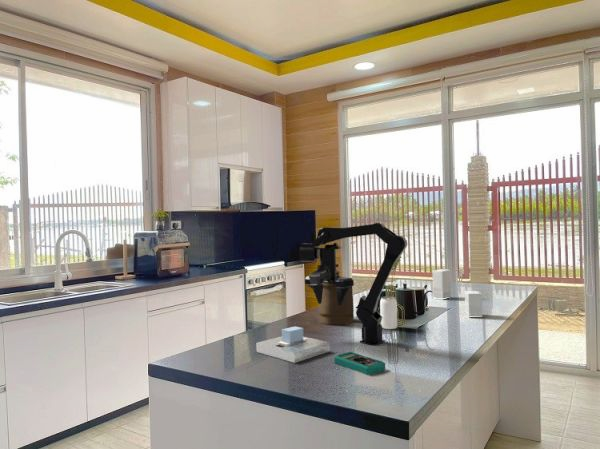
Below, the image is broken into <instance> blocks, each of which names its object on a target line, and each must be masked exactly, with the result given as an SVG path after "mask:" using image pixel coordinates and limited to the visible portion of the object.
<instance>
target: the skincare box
mask: <svg viewBox="0 0 600 449" xmlns="http://www.w3.org/2000/svg"><path fill="white" fill-rule="evenodd" d="M431 272H432V298H433V297H436V298H446V297H450V296H451V297H452V290H451V288H452V286H451V285H452V284H451V280H452V279H451V269H444V268H440V269H439V268H438V269H435V270H434V269H433V270H432V271H431Z"/></svg>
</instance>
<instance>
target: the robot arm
mask: <svg viewBox="0 0 600 449" xmlns="http://www.w3.org/2000/svg"><path fill="white" fill-rule="evenodd" d="M370 235H376V236H377V237H378V238H380V239H381V241H382V242H384V243H385V244H386V248H385V254H384V259H383V261H382V263H381V265H380V268H379V270H378V272H377V274H376V277H375V278H374V281H373V282H372V284H371V287H370V289H369V291H368V293H367V295H363V296H361V297H360V298H359V300H358V303H357V306H356V307H355V309H356V311H355V315H356V317H357V319H358V321H361V325H362V326H361V340H359V343H361V344H362V343H363V344H366V345H372V346H377V345H379V344H383V343H385V342H386V340H385V339H383V328H382V325H381V320H382V316H381V315H380V313H379V312H378V311H377V309H378V304H379V301H380V297H381V294H382V292H383V290H384V287H385V285H386V283H387V281H388V280H389V277H390V275H391V272H392V271H393V268H394V266H395V264H396V262H397V261H398V260H399V258H401V256H402V255H403V253H404V251H405V250H406V249H407V247H408V241H407V240H408V239H407V238H406V237H405V236H403V235H400V234H399V235H398V234H397V233H395V232H394V231H393V230H391V229H389V228H388V227H386V226H385V225H384V224H383V223H382V222H375V223H370V224H363V225H354V226H347V227H338V226H337V227H336V226H325V227H324V226H323V227H321V228H320V229H319V230H318V231H317V237H316V238H315V240H314V241H313V243H305V242H303V243H300V247H299V251H298V259H299V261H300V262H302V263H309V262H310V263H312V262H314V263H315V262H317V261H318V260H319V263H320V264H317V267H316V268H317V269H316V270H314V271H313V272H311V273H310V274H309V275H307V276H306V277H305V279H304V284H305V285H307V287H309V288H310V289H312V291H313V292H314V296H315V298H316V300H317V304H318V305H319V304H321V301H322V293H323V284H322V283H327V284H335V285H336V287H337V288H335V290H336V291H337V303H338V307H339V306H341V304H342V302H343V299H344V297H345V295H346V293H347V291H348V289H349V288H351V286H352V287H354V285H355V281H354V279H353V278H352V277H345V276H344V277H343V278H339V276H340V275H339V274H338V275H339V276H338V275H336V270H337V268H339V264H338V263H337V252H336V251H337V250H340V249H342V246H341V245H339V244H338V242H337V241H340V240H342V239H346V238H354V237H363V236H370ZM329 243H333V244H329ZM319 246H324V247H319ZM326 280H327V281H326ZM330 281H332V282H330Z"/></svg>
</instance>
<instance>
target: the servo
mask: <svg viewBox="0 0 600 449" xmlns="http://www.w3.org/2000/svg"><path fill="white" fill-rule="evenodd" d="M281 336H282V341H281V342H278V345H282V346H281V348H282V347H285V346H286V347H287V346H293V345H297V344H300V343H304V342H305V341H307V338H303V336H304V327H300V326H291V327H287V328H282V329H281Z"/></svg>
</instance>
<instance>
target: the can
mask: <svg viewBox="0 0 600 449" xmlns="http://www.w3.org/2000/svg"><path fill="white" fill-rule="evenodd" d="M379 301H380V302H379V305H380V306H379V307H380V309H379V310H380V311H379V312H380V313H379V314H380V315H381V316H382V320H381V322H380V325H382V330H383V329H384V330H396V329H397V328H398V306H397V305H398V304H397V303H398V302H397V300H396V297H395V296H391V295H390V296H388V295H387V296H380V300H379Z"/></svg>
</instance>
